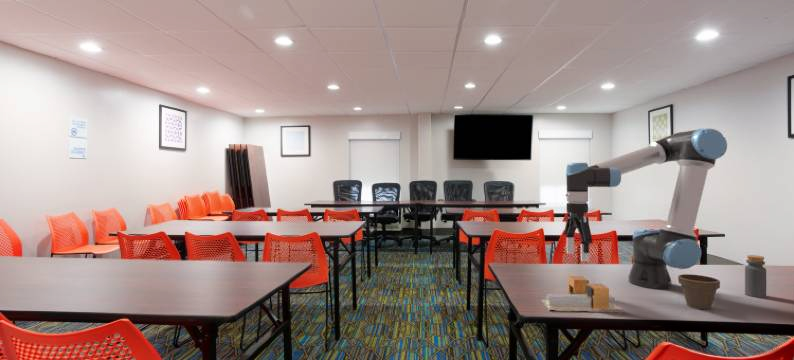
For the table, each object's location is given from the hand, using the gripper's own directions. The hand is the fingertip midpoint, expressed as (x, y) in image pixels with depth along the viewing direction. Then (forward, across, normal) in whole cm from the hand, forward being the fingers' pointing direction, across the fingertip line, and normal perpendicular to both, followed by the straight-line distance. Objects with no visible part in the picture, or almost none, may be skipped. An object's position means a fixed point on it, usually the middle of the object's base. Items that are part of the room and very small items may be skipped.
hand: (577, 257), depth 144 cm
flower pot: (+15, +12, +36) cm, 41 cm away
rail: (+14, +14, -5) cm, 21 cm away
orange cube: (+14, 0, 0) cm, 15 cm away
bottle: (+15, -1, +66) cm, 68 cm away
